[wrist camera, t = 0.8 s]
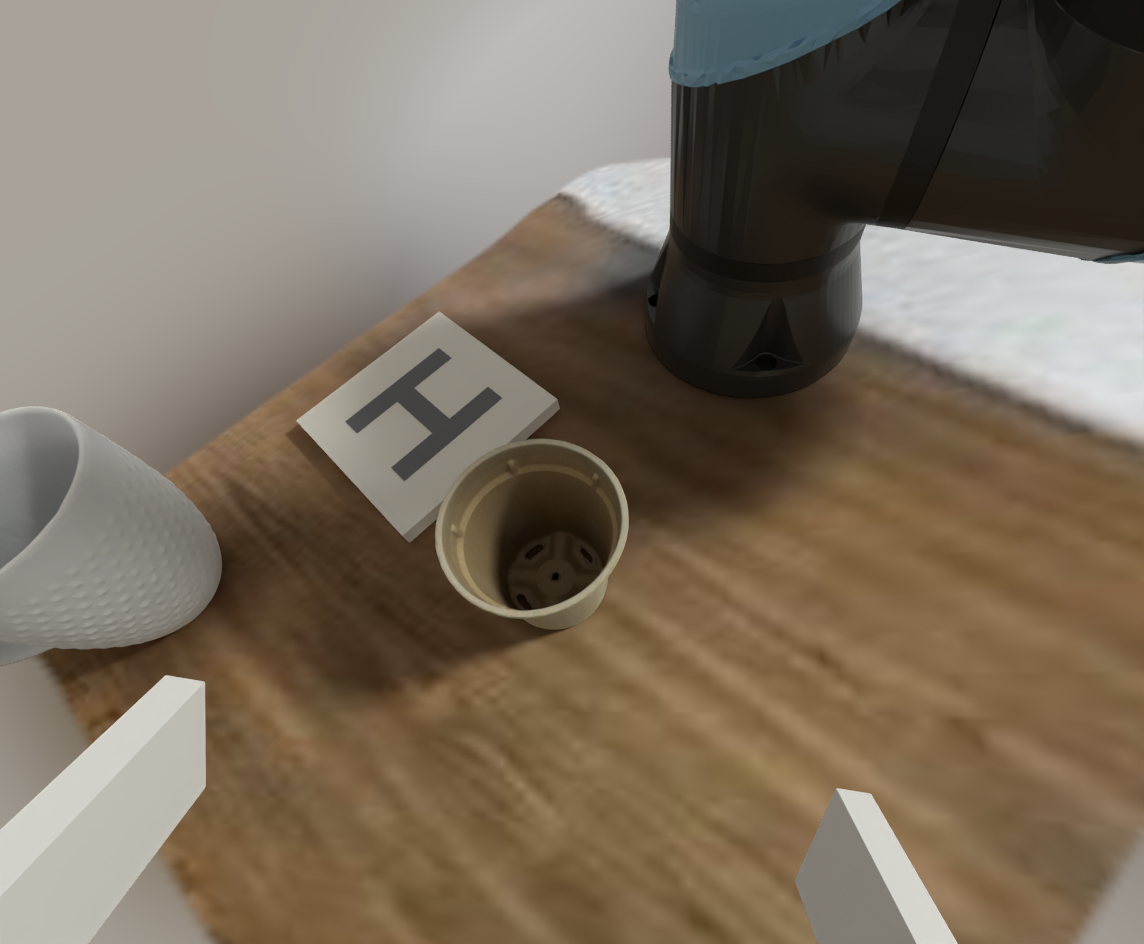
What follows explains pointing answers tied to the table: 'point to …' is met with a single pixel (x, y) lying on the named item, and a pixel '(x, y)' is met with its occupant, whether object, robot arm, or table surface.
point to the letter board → (425, 419)
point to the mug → (92, 541)
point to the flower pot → (533, 531)
